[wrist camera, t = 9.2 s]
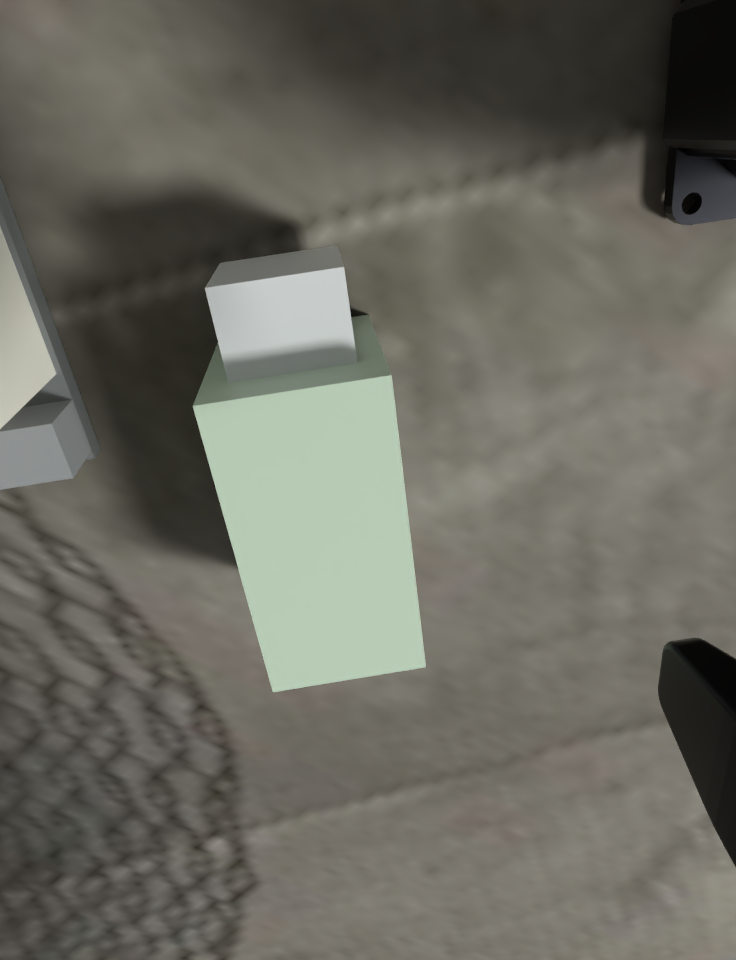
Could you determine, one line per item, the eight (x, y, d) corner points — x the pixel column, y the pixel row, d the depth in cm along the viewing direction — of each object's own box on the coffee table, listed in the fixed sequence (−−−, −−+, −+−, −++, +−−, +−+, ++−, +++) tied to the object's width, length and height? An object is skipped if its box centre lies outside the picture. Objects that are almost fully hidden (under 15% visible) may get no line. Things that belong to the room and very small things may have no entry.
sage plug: (399, 556, 21) (425, 667, 17) (278, 575, 21) (273, 692, 17) (358, 234, 16) (379, 272, 12) (200, 258, 16) (164, 305, 12)
